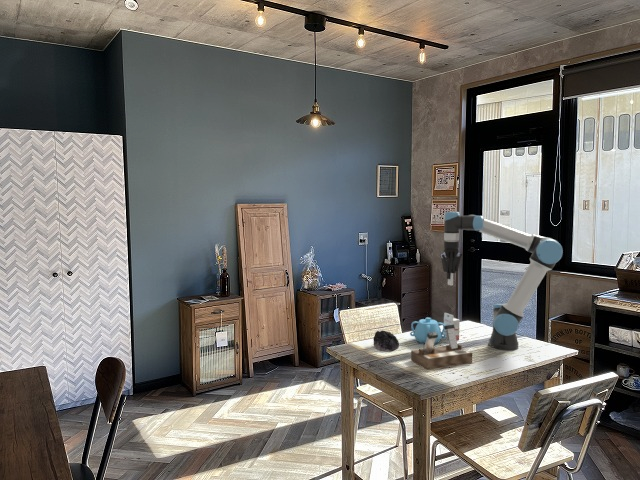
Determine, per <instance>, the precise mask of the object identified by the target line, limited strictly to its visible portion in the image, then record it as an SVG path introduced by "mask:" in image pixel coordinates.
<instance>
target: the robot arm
mask: <svg viewBox="0 0 640 480" xmlns="http://www.w3.org/2000/svg"><path fill="white" fill-rule="evenodd" d="M443 221H444V224H443V225H444V226H443V228H444V229H443V230H444V233H443V240H444V242H443V253H441V254H439V256H440V258H441V263H442V265H441V266H442V269H443V272H444V273H446V279H447V286H453V285H454V279H455V274H456V273H457V272H458V271H459V268H460V267H459V266H460V263H461V260H462V259H461V258H462V256H463V253H460V252H459V248H460V247H459V246H460V245H459V240H460V231H464V230H465V231H476V232H479V233H482V234H485V235H487V236H490V237H493V238H495V239H498V240H501V241H503V242H507V243H509V244H512V245H515V246H518V247H520V248H523V249H524V250H525V251H527V252H528V253H531V255H530V257H529V261H530V263H529V265H528V267H527V268H526V270H525V271H524V274H523V275H522V277H521V278H520V280H519V281H518V283H517V285H516V286H515V288H514V290H513V292H512V293H511V295H510V297H509V298H508V300H507V302H506V303H495V304H494V305H493V308H492V310H493V313H492V314H493V315H492V331H491V335H490V338H489V340H488V345H489V346H490V347H491V348H495V349H498V350H504V351H508V350H509V351H510V350H511V351H513V350H517V349H519V341H518V337H517V334H516V333H517V332H518V330H519V324H520V323H521V321H522V320H523V318H524V317H525V315H524V311H525V309H526V307H527V305H528V303H529V302H530V301H531V299H532V297H533V295H534V294H535V292H536V290H537V289H538V287H539V286H540V284H541V282H542V280H543V279H544V278H545V276H546V273H547V272H549V271H551V270H553V269H554V267H555V265H556V263H558V262H559V261H560V260H561V259H562V258H563V255H564V254H563V253H564V252H563V251H564V250H563V246H562V245H561V243H559V241H558V240H556V239H553V238H552V237H548V236H547V237H546V236H541V235H539V234H538V235H537V234H529V233H526V232H523V231H520V230H517V229H514V228H511V227H509V226H507V225H503V224H500V223H498V222H495V221H492V220H489V219H486V218H484V217H483V216H482V215H476V214H468V215H461V214H460V211H446V212H445V213H444V220H443Z"/></svg>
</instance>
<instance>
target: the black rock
mask: <svg viewBox="0 0 640 480" xmlns="http://www.w3.org/2000/svg"><path fill="white" fill-rule="evenodd" d="M372 339H373V347H374V348H375V349H376V350H377V351H383V352H391V351H394V350H396V349H399V348H400V341H399V339H398V338H397V336H395V335H394V334H393V333H391V332H390V331H386V330H383V329H382V330H377V331H375V333H374V335H373V338H372Z"/></svg>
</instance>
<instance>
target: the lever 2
mask: <svg viewBox="0 0 640 480" xmlns="http://www.w3.org/2000/svg"><path fill="white" fill-rule="evenodd" d="M444 328H445V330H446V334H447V338H446V339H447V343H448V344H447V345H449V346H451V347H452V349H453V348H458V345H457V344H458V340H456V335H455V331H454V328H455V327H454V325H447V326H444Z"/></svg>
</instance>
